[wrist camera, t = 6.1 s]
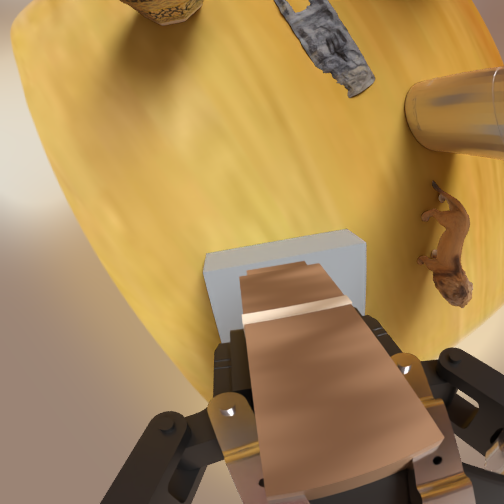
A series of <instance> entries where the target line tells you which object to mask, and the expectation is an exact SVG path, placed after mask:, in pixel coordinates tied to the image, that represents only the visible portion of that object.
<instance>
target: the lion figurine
mask: <svg viewBox="0 0 504 504" xmlns="http://www.w3.org/2000/svg"><path fill="white" fill-rule="evenodd" d="M432 186H433V187H434V189H435V190H436V191H437V192H439V193H440V195H439V201H440V202H441V203H443V202H444V201H445V199H446V201H447V202H448V204H449V208H450V211H438V210H437V209H435V208H433V209H431V210H429V211H426V212H424V213H423V214H422V216H421V219H422V221H428V220H429V217H430V216H433V217H435V218H436V219H437V221H438V222H439V223H440V224H441V225H443V226H444V227H445V228H446V230H445V232H444V233H443V234H442V236H441V238H440V240H439V243H438V247H437V250H433V251H432V254H431V256H432V258H433V259H429V258H428V257H427V256H420V257H419V258H418V260H417V262H418V264H420V265H422V264H425V265H426V266H427V267H428V268H429V269H430V270H432V271H433V281H434V283H435V287H436V288H437V289H438V290H439V292H440V293H441V294H442V296H443V297H444V298H445V299H446V300H447V301H448V303H450V304H451V305H454V306H460V307H461V308H464V306H465V305H467V304H468V302H469V301H470V300H471V299H472V290H473V284H472V282H469V280H468V278H467V276H466V275H465V271H464V270H463V269H462V266H461V252H462V246H463V242H464V239H465V237H466V235H467V233H468V230H469V226H470V220H469V215H468V214H467V212H466V210H465V208H464V207H463V205H462V204H461V203H460V202H459V201H458V200H457V199H455V198H454V197H452V196H451V195H449V194H447V193H445V192H444V191H442V190H441V189H440V188H439V187H438V185H437V184H436V183H435V182H434V181H432ZM436 258H437V259H436Z"/></svg>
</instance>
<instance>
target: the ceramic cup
mask: <svg viewBox="0 0 504 504" xmlns="http://www.w3.org/2000/svg"><path fill="white" fill-rule="evenodd" d="M120 1H121V2H123V3H125V4H128V5H129V6H131V7H132V8H133V9H135V10H136V11H138V12H139V13H140V14H141V15H143V16H144V17H146V18H148V19H150V20H152V21H154V22H156V23H158V24H160V25H163V26H164V25H169V24H174V23H179V22H184V21H186V20H187V19H188V18H189V17H190V16H191V15H192V14H193V13H195V12H196V11H197V10H198V9H199V8H200V7H201V6H202V4H203V0H120Z"/></svg>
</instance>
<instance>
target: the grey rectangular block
mask: <svg viewBox="0 0 504 504" xmlns="http://www.w3.org/2000/svg"><path fill="white" fill-rule="evenodd" d="M300 261H305V262H306V264H307V265H311V264H316V263H319V264H320V265H321V266H322V267H323V269H324V270H325V271H326V272H327V274H328V275H329V276H330V277H331V279H332V280H333V281H334V282H335V284H336V285H337V286H338V288H339V289H340V290H341V291H342V293H343V294H344V295H347V296H348V298H349V299H350V300H351V301H352V306H353V307H356V308H357V309H358V311H359V312H360V313H361V314H362V316H365V299H366V242H365V241H363V240H362V239H361V238H359V237H358V236H356V235H355V234H354V233H352V232H351V231H349V230H348V229H344V230H338V231H332V232H326V233H320V234H315V235H309V236H303V237H297V238H292V239H286V240H280V241H275V242H269V243H263V244H258V245H252V246H246V247H241V248H235V249H229V250H224V251H218V252H213V253H207V254H206V259H205V264H204V269H203V275H204V279H205V283H206V287H207V291H208V294H209V298H210V302H211V306H212V310H213V314H214V317H215V321H216V325H217V328H218V332H219V336H220V339H221V343H227V342H230V330H237V329H243V322H242V314H243V309H242V299H241V290H240V281H239V277H240V276H246V275H247V271H246V270H252V269H258V268H264V267H271V266H277V265H282V264H288V263H294V262H300Z"/></svg>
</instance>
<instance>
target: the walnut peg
mask: <svg viewBox="0 0 504 504" xmlns="http://www.w3.org/2000/svg"><path fill="white" fill-rule="evenodd" d="M246 271H247V275H246V276H240V277H239V281H240V290H241V299H242V309H243V314H242V322H243V328H244V333H245V338H246V344H247V353H248V361H249V370H250V378H251V386H252V395H253V403H254V411H255V418H256V426H257V434H258V442H259V449H260V457H261V464H262V471H263V478H264V485H265V493H266V498H267V500H268V501H270V500H277V499H283V498H289V497H294V496H299V495H305V497H306V498H307V500H308V501H309V500H314V499H318V498H322V497H326V496H330V495H334V494H337V493H341V492H344V491H347V490H351V489H354V488H357V487H360V486H363V485H366V484H369V483H371V482H374V481H377V480H379V479H382V478H385V477H387V476H390V475H392V474H394V473H397V472H399V471H401V470H404V469H406V468H407V466H408V464H409V463H410V461H411V460H412V459H413V458H414V457H417V456H419V455H421V454H423V453H425V452H427V451H429V450H431V449H432V448H434V447H436V446H438V445H440V444H441V442H442V441H443V439H444V436H443V434H442V433H441V431H440V430H439V428H438V427H437V425H436V423H435V422H434V420H433V419H432V417H431V416H430V414H429V413H428V411H427V410H426V408H425V407H424V405H423V404H422V402H421V401H420V399H419V398H418V396H417V395H416V393H415V392H414V390H413V389H412V387H411V386H410V384H409V383H408V382H407V380H406V379H405V377H404V376H403V374H402V373H401V371H400V370H399V369H398V367H397V366H396V364H395V363H394V362H393V360H392V359H391V357H390V356H389V355H388V353H387V352H386V350H385V349H384V348H383V346H382V345H381V343H380V342H379V341H378V339H377V338H376V337H375V335H374V334H373V333H372V331H371V330H370V328H369V327H368V326H367V324H366V323H365V322H364V320H363V319H362V318H361V316H360V315H359V314H358V312H357V311H356V310H355V308H354V307H353V306H352V301H351V300H350V299H349V298H348V296H347V295H344V294H343V293H342V291H341V290H340V289H339V288H338V286H337V285H336V284H335V282H334V281H333V280H332V279H331V277H330V276H329V275H328V274H327V272H326V271H325V270H324V269H323V267H322V266H321V265H320V264H319V263H316V264H311V265H307V264H306V262H305V261H300V262H294V263H288V264H282V265H277V266H271V267H264V268H258V269H252V270H246Z"/></svg>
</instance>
